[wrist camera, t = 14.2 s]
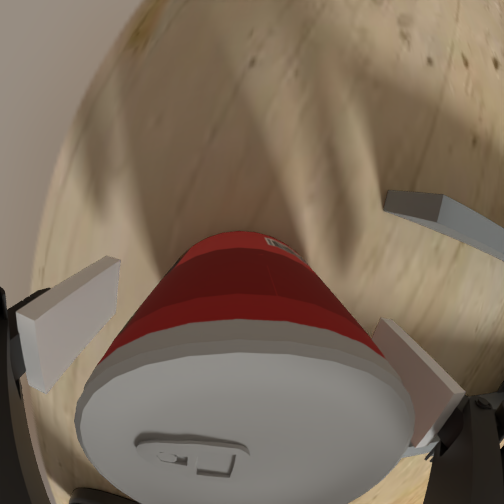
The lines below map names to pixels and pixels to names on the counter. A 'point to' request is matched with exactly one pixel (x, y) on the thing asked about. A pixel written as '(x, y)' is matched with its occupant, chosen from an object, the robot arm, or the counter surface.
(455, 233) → the trap channel
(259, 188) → the counter surface
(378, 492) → the counter surface
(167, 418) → the canned food
